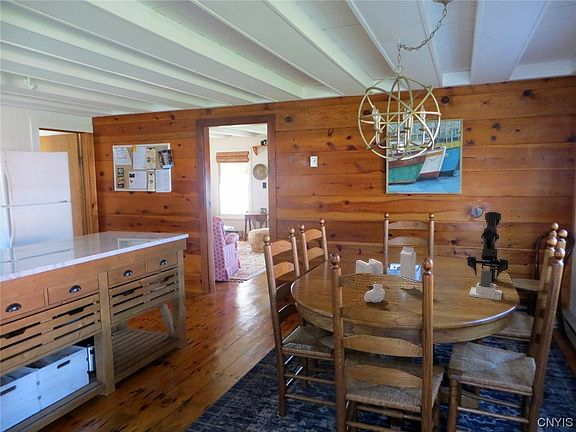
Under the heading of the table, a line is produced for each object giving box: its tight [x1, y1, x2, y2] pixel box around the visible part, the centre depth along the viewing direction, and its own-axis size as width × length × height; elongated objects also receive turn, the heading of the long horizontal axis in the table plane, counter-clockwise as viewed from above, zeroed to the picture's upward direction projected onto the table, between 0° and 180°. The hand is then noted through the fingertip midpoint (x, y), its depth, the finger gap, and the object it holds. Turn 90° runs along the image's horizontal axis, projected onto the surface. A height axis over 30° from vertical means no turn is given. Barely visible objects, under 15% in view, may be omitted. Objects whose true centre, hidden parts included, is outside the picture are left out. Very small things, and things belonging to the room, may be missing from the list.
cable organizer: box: [355, 258, 384, 275], centre depth 231 cm, size 15×11×12 cm
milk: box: [399, 246, 417, 281], centre depth 216 cm, size 6×6×22 cm
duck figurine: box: [364, 284, 386, 303], centre depth 194 cm, size 12×8×11 cm
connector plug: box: [480, 266, 492, 287], centre depth 204 cm, size 4×4×13 cm
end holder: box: [468, 282, 503, 301], centre depth 205 cm, size 14×14×5 cm
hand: (486, 277), depth 203 cm, fingers open, 9 cm apart
